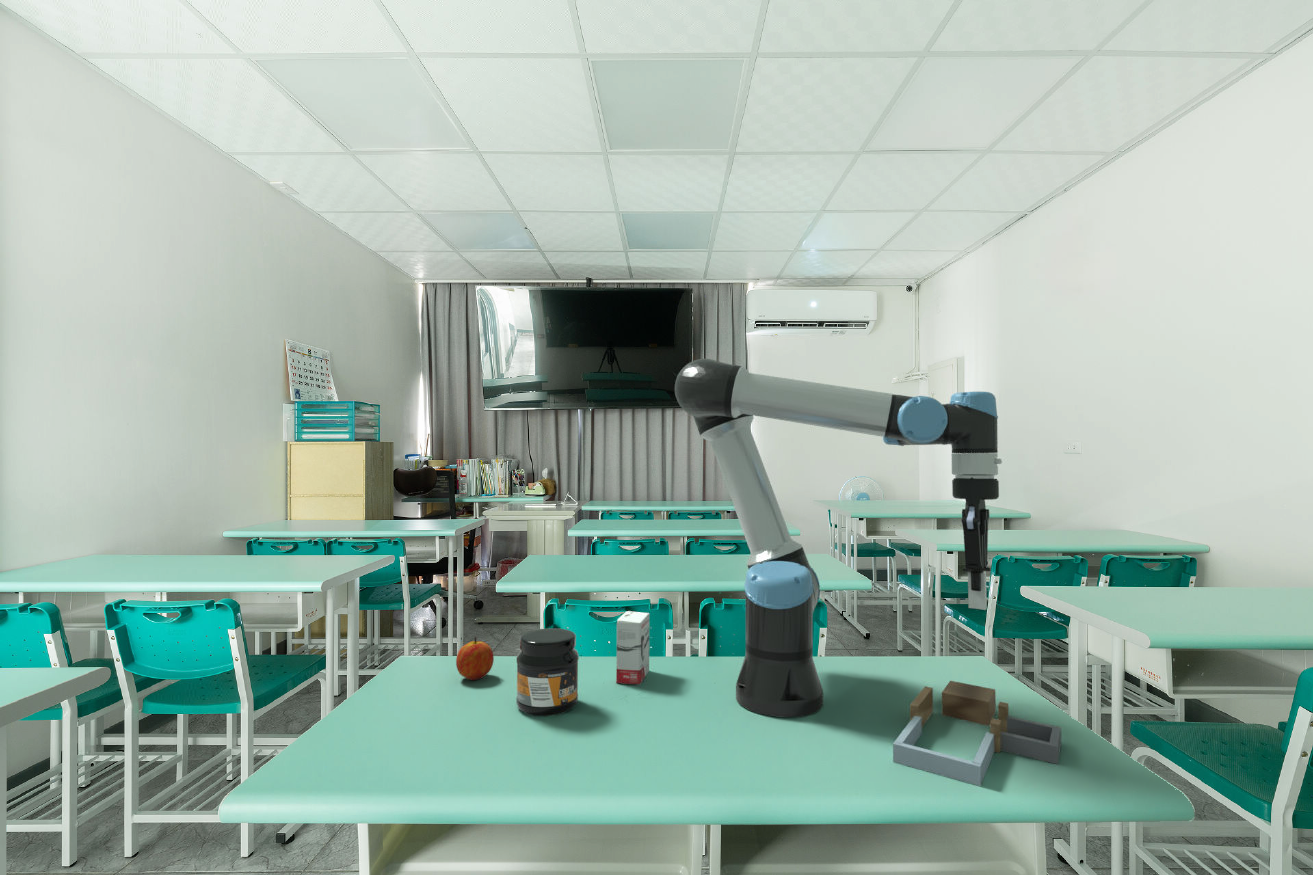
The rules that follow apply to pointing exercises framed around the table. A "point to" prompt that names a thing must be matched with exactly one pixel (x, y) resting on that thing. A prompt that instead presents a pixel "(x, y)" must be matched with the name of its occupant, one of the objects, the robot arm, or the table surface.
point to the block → (969, 702)
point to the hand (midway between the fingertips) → (977, 607)
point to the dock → (942, 756)
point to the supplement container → (547, 672)
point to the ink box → (632, 647)
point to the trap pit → (1032, 739)
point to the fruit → (474, 660)
